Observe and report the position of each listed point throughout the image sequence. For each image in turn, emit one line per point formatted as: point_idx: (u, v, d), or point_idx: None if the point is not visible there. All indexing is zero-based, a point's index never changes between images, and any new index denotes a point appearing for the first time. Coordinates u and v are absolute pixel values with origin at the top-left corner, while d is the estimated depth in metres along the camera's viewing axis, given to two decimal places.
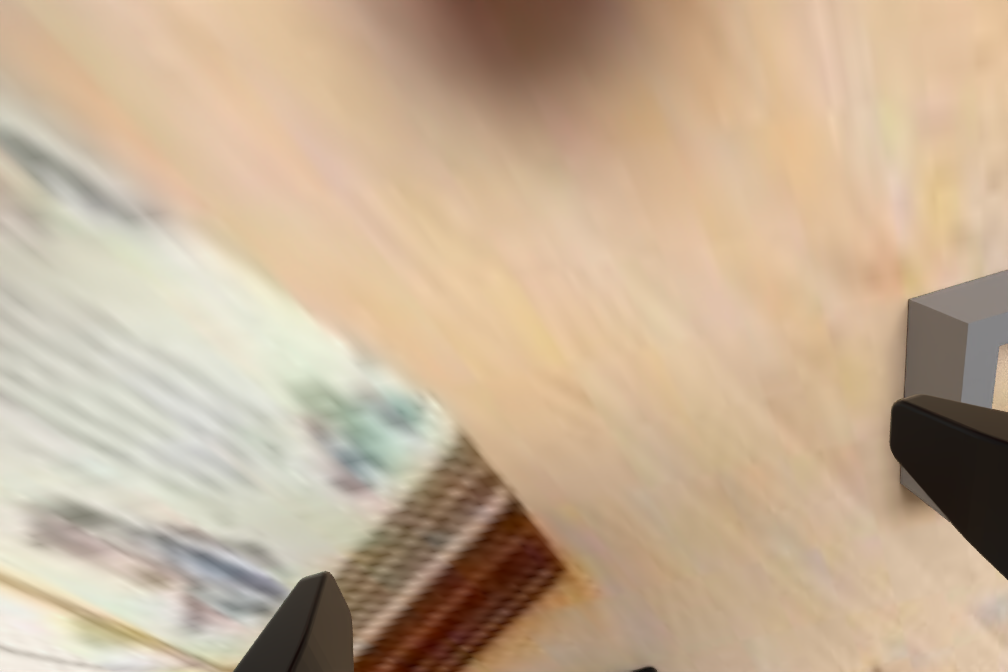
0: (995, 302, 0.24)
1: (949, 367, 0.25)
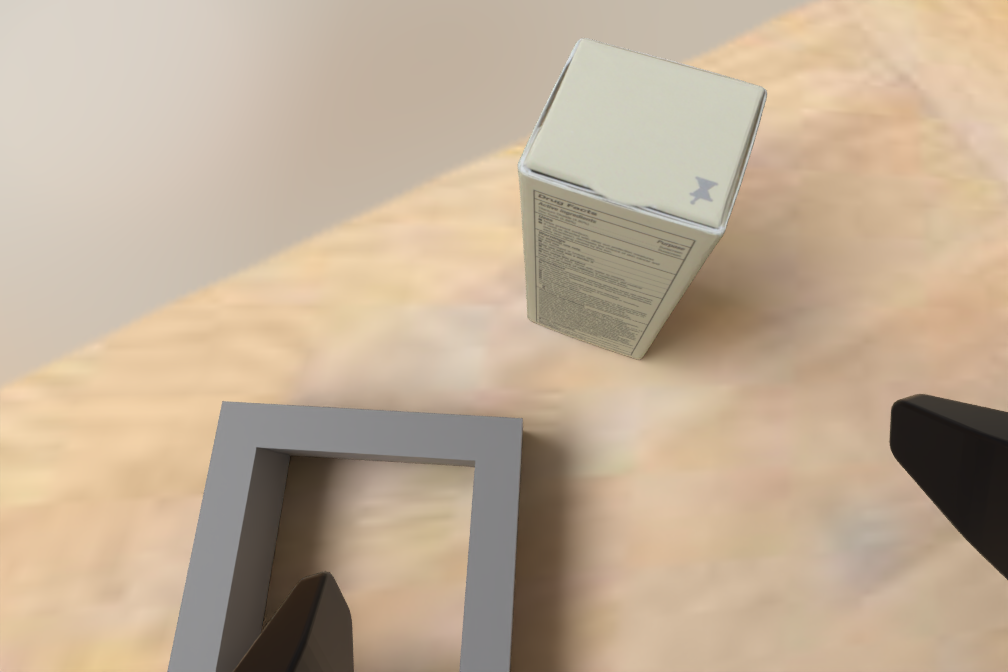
0: None
1: None
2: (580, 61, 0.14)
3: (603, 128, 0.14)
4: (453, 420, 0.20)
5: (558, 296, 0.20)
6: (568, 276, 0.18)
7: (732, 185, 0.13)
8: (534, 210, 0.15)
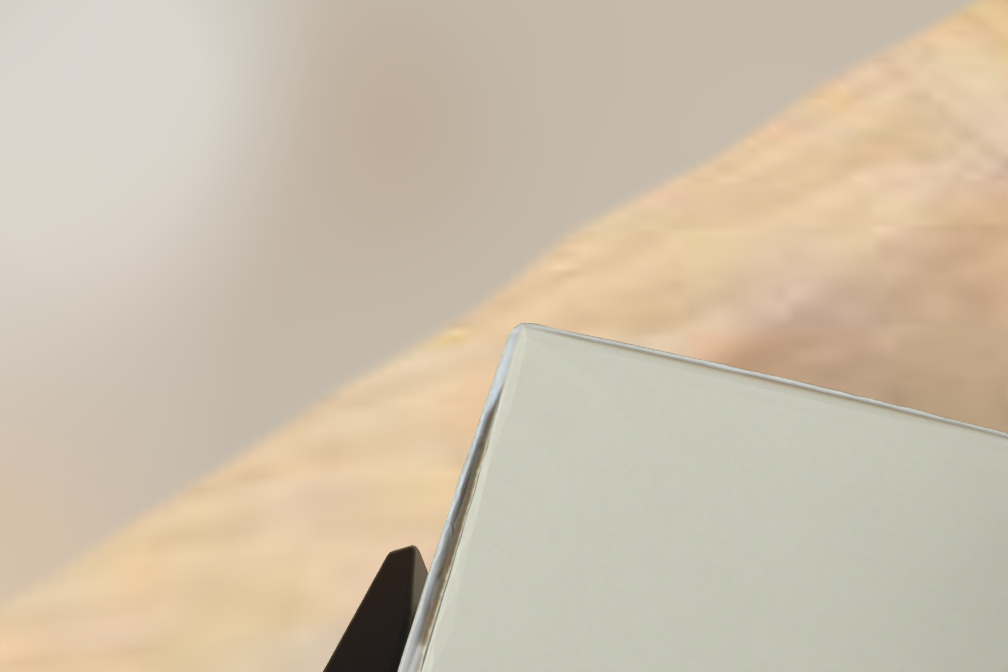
0: None
1: None
2: (523, 408, 0.05)
3: (616, 660, 0.04)
4: None
5: None
6: None
7: None
8: None
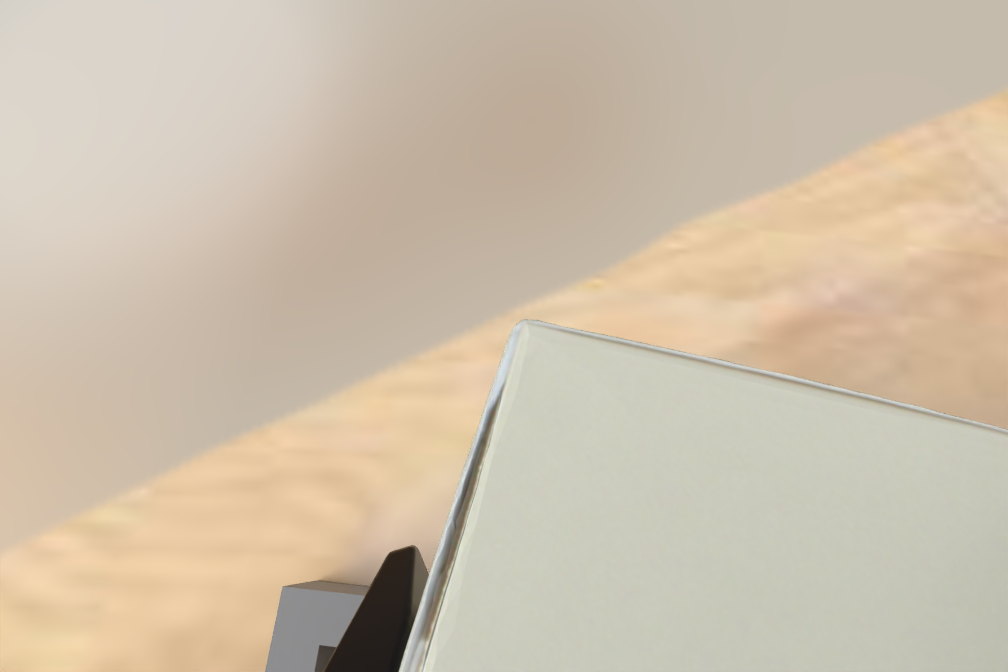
0: None
1: None
2: (526, 404, 0.05)
3: (619, 653, 0.04)
4: None
5: None
6: None
7: None
8: None
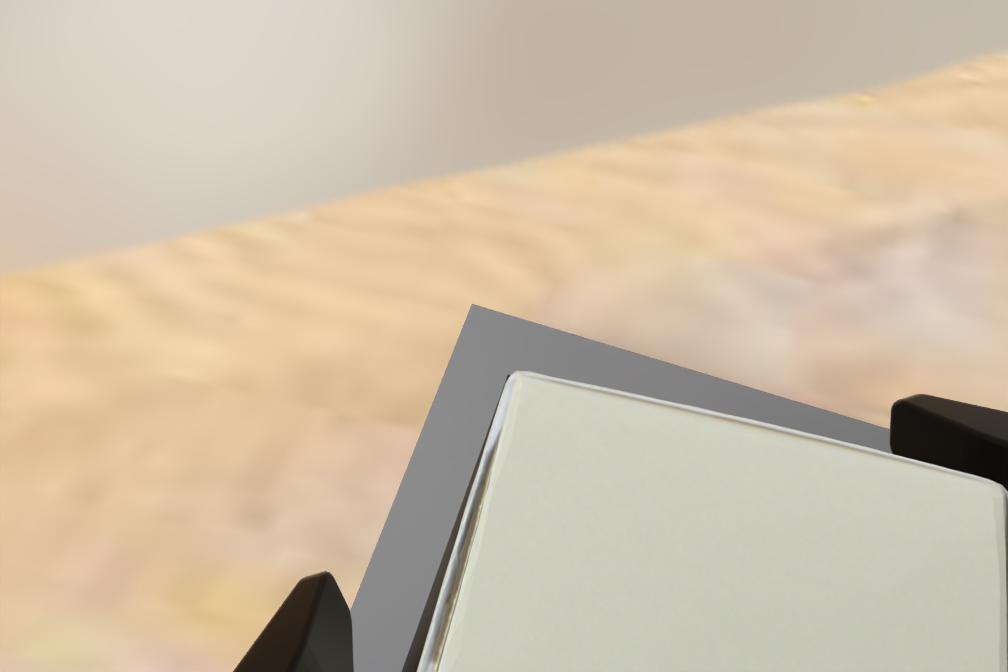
0: None
1: None
2: (520, 449, 0.06)
3: None
4: (794, 409, 0.14)
5: None
6: None
7: None
8: None
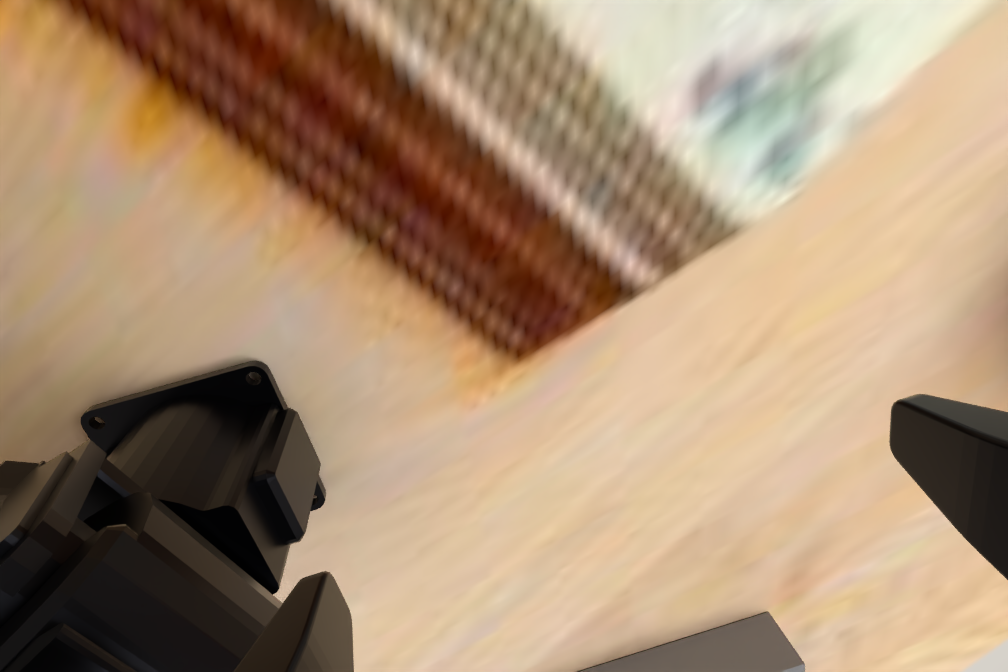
0: None
1: (749, 665, 0.28)
2: None
3: None
4: None
5: None
6: None
7: None
8: None
